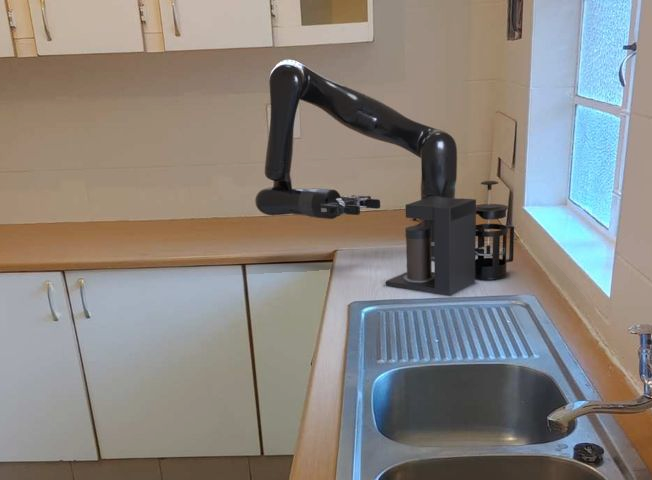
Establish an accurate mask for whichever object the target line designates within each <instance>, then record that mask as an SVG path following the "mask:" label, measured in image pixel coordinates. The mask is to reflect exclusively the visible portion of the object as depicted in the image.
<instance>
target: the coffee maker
mask: <svg viewBox="0 0 652 480" xmlns="http://www.w3.org/2000/svg"><path fill="white" fill-rule="evenodd" d="M476 205H477V199H476V198H475V199H474V198H461V197H460V198H457V197H455V198H441V197H429V198H426V199H422V200H421V199H420V200H416V201H413V202H410V203H407V204H405V219H416V220H420V219H425V220H434V259H435V260H434V271H432V277H431V278H429V279H425V280H411V279H408V278H407V271H406V272H404V273H401V274H399V275H396V276H394V277H391V278H390V279H387V280H386V281H385V286H386V287H391V288H398V289H405V290H410V291H411V290H412V291H417V292H425V293H431V294H436V295H443V296H448V297H449V296H453V294H456V293H457V292H459V291H462V290H464V289H466V288H467V287H470V286H471V285H473V284H475V283H476V279H475V259H476V255H475V248H476V247H477V246H476V245H477V244H476V242H477V240H476V239H477V238H476V237H477V236H476V231H477V230H476V225H477V215H476Z"/></svg>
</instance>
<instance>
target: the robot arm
mask: <svg viewBox="0 0 652 480" xmlns="http://www.w3.org/2000/svg"><path fill="white" fill-rule="evenodd" d="M268 80H269V81H268V83H269V100H270V101H269V102H270V120H269V131H268V139H267V145H266V152H265V160H264V161H265V162H264V175H265V177H266V178H267V179H268V180H270V181H273V182H272V183H273V186H271V187H266V188H262V189H260V190H259V191H258V193H256V195H255V199H254V203H255V206H256V208H257V210H258V211H259V212H260V213H262V214H264V215H267V216H283V215H295V216H301V217H308V218H314V219H323V220H324V219H325V220H335V219H336V218H337V217H340V216H346V215H352V216H359V215H360V214H361V209H380V208H381V199H378V198H372V196H370V195H355V194H353V195H351V196H348V195H341V194H340V193H339V192H338V191H337V190H336V189H332V188H329V189H328V188H300V187H299V188H296V187H295V188H293V183H292V177H291V176H292V175H291V172H292V171H291V170H292V164H293V155H294V131H295V129H294V128H295V121H296V115H297V111H298V108H299V104H300V101H303V102H305V103H308V104H310V105H313V106H314V107H317V108H319V109H321V110H322V111H323V112H325V113H326V114H327V115H329V116H330V117H331V118H333V119H334V120H335V121H337V122H338V123H339V124H340V125H343V126H344V127H345V128H348V129H350V130H352V131H354V132H356V133H358V134H361V135H362V136H365V137H368V138H371V139H372V140H373V139H374V140H377V141H379V142H384V143H388V144H391V145H395V146H398V147H400V148H402V149H404V150H406V151H408V152H410V153H411V154H413V155H415V156H417V157H418V158H420V159H421V161H420V162H421V163H420V166H421V168H420V169H421V176H420V177H421V178H420V179H421V180H420V200H422V199H426V198H429V197H441V198H456V186H457V178H458V176H457V175H458V147H457V142H456V140H455V139H454V137H453V136H452V135H451V134H450V133H448V132H447V131H445V130H442V129H439V128H436V127H432V126H428V125H427V124H426V125H425V124H423V123H420V122H417V121H415V120H412V119H411V118H409V117H407V116H405V115H403V114H401V112H398V110H396V109H394V108H393V107H391V106H389V105H387V104H385V103H384V102H382V101H380V100H378V99H376V98H373V97H372V96H369V95H367V94H365V93H362V92H360V91H358V90H355V89H353V88H350V87H349V86H346V85H342V84H340V83H337V82H335V81H332V80H330V79H328V78H326V77H324V76H323V75H321V74H318V73H317V72H315V71H313V70H312V69H310V68H309V67H307V66H305V65H304V64H302V63H300V62H298V61H296V60H293V59H284V60H281V61H279V62H278V63H277V64H276V65H275V67H273V69H272V70H271V72H270V75H269V78H268ZM412 220H413V221H417V219H414V218H412ZM419 221H421V222H420V223H417V224H415V225H414V226H419V225H423V226H430V227H431V229H432V236H431V261H432V260H433V261H435V259H434V220H425V219H419Z"/></svg>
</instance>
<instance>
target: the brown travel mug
mask: <svg viewBox="0 0 652 480" xmlns="http://www.w3.org/2000/svg"><path fill="white" fill-rule="evenodd" d="M431 236H432V229H431V227H430V226H423V225H419V226H415V225H410V226H407V227H405V247H406V254H405V255H406V272H407V278H408V279H411V280H425V279H429V278H431V277H432V272H433V271H432V270H433V269H432V268H433V267H432V265H433V264H432V260H431Z"/></svg>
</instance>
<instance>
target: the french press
mask: <svg viewBox="0 0 652 480" xmlns="http://www.w3.org/2000/svg"><path fill="white" fill-rule="evenodd" d="M499 183H500V182H499V181H496V180H485V181H481V182H480V184H481V185H483V186H487V191H488V203H484V204H483V203H481V204H476V216H479V217H480V218H481V219H482V220H487V223H479V224H476V237H477V246H476V248H475V256H477V258H475V280H477V281H497V280H502V279H505V278H506V277H507V276H508V272H507V266H508V265H507V263H512V262H514V253H515V252H514V250H515V249H514V247H515V226H514V225H511V224H508V225H506V224H502V223H491V221H490V220H501V219H504V218H506V217H507V210H508V209H509V206H508V205H507V204H499V203H491V191H492V189H493V188H492V187H493V185H494V186H495V185H498V184H499ZM508 229H509V250H508V251H509V252H508V258H507V241H508V235H507V234H508ZM485 230H486V231H485ZM501 237H502V247H501ZM485 238H487V245H485ZM490 238H492V245H491V244H490ZM500 256H502V257H501V258H500Z"/></svg>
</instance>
